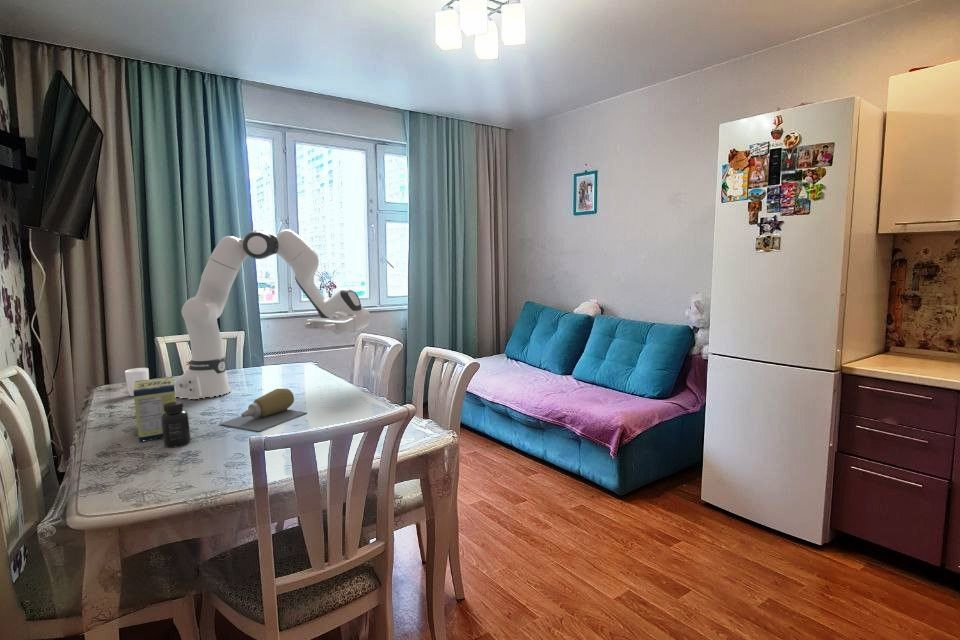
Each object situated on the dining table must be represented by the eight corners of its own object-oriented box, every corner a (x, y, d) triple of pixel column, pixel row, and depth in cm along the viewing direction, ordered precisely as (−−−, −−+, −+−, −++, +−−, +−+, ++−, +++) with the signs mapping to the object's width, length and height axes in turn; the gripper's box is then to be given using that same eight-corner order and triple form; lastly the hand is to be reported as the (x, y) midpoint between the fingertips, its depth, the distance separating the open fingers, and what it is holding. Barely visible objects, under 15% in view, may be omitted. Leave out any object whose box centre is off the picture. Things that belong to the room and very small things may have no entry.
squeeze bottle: (284, 408, 185) (239, 427, 170) (278, 386, 184) (231, 403, 169) (299, 406, 181) (253, 426, 166) (292, 384, 180) (246, 402, 165)
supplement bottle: (196, 439, 155) (192, 400, 153) (180, 448, 148) (176, 407, 147) (174, 439, 156) (170, 400, 154) (158, 447, 149) (153, 406, 147)
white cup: (154, 393, 210) (152, 368, 208) (133, 398, 203) (130, 373, 202) (144, 391, 214) (142, 367, 212) (123, 395, 207) (120, 370, 206)
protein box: (177, 422, 172) (173, 375, 170) (179, 435, 159) (174, 385, 157) (139, 428, 167) (134, 380, 165) (138, 443, 153) (132, 391, 151)
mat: (269, 407, 186) (268, 406, 186) (307, 413, 178) (307, 412, 178) (219, 424, 168) (218, 423, 168) (258, 432, 160) (258, 430, 160)
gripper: (320, 313, 215) (294, 317, 202) (359, 316, 206) (335, 320, 193) (320, 328, 215) (295, 333, 203) (360, 331, 206) (336, 337, 194)
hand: (315, 327), depth 198 cm, fingers open, 8 cm apart
